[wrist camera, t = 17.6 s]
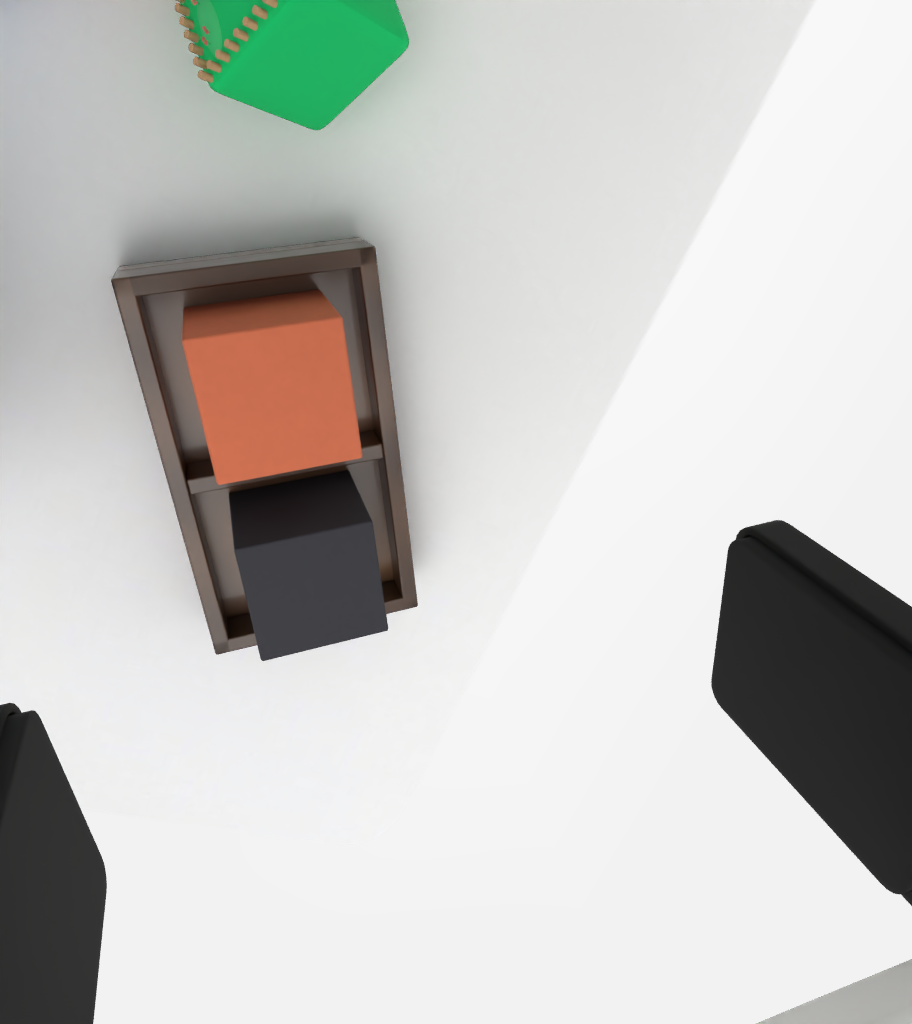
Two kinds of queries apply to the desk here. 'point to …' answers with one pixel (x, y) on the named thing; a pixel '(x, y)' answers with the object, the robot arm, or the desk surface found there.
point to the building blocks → (293, 51)
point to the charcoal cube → (307, 563)
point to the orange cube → (271, 384)
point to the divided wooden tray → (178, 428)
